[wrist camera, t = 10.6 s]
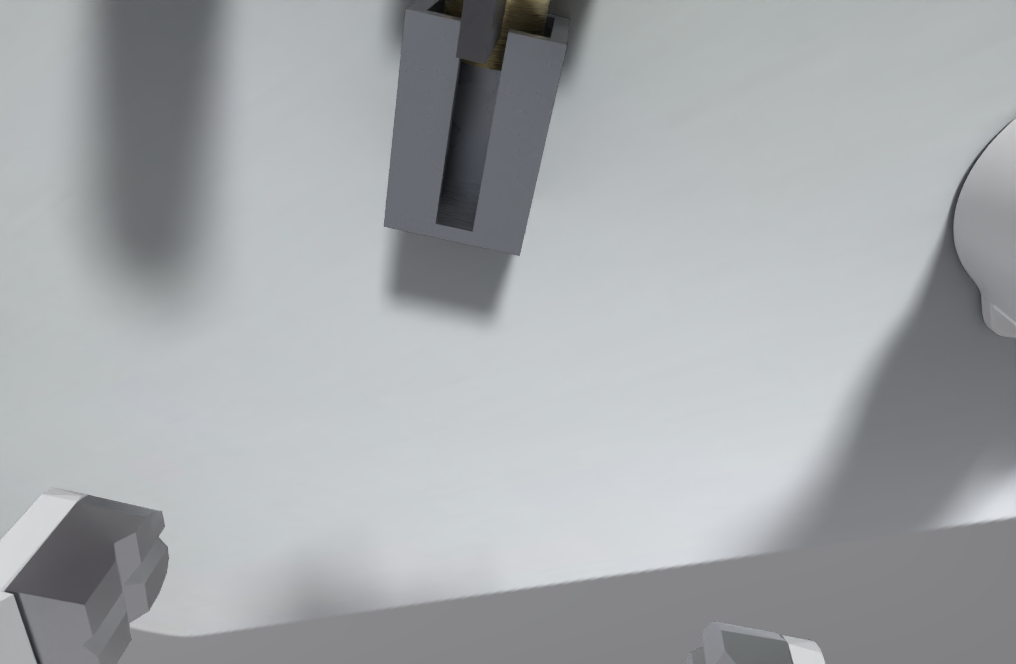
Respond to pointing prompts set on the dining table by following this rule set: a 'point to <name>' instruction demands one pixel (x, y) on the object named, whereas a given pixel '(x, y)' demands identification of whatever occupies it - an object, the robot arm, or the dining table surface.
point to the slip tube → (493, 27)
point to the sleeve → (470, 131)
